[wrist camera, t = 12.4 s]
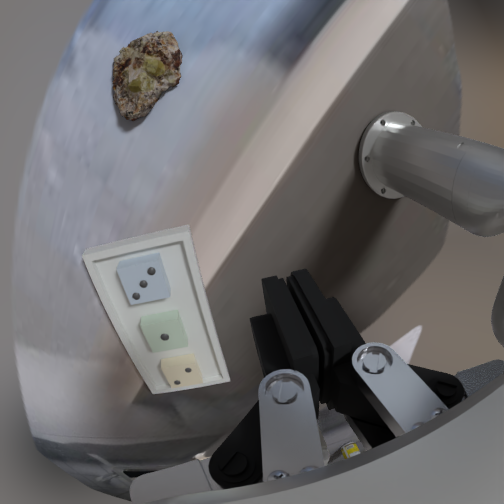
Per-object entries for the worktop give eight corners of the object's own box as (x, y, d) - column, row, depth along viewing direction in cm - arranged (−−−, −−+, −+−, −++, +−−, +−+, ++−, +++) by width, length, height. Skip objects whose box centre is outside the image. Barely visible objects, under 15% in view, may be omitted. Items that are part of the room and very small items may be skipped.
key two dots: (193, 353, 44) (194, 363, 42) (202, 374, 46) (203, 383, 44) (161, 359, 43) (161, 369, 41) (171, 379, 46) (171, 389, 44)
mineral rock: (122, 21, 21) (188, 31, 22) (138, 31, 25) (199, 42, 26) (88, 112, 25) (150, 129, 26) (108, 113, 29) (165, 129, 30)
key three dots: (159, 252, 35) (158, 260, 33) (170, 288, 38) (170, 297, 36) (119, 261, 34) (116, 269, 33) (132, 296, 37) (130, 305, 35)
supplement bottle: (345, 449, 82) (355, 471, 73) (336, 448, 80) (347, 472, 71) (357, 441, 81) (368, 463, 72) (349, 440, 78) (360, 464, 70)
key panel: (189, 224, 35) (189, 230, 34) (228, 372, 49) (230, 381, 47) (86, 248, 34) (82, 255, 32) (153, 385, 47) (152, 394, 45)
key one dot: (177, 309, 39) (177, 319, 38) (187, 337, 42) (188, 347, 40) (141, 316, 39) (140, 326, 37) (153, 343, 41) (153, 353, 39)
